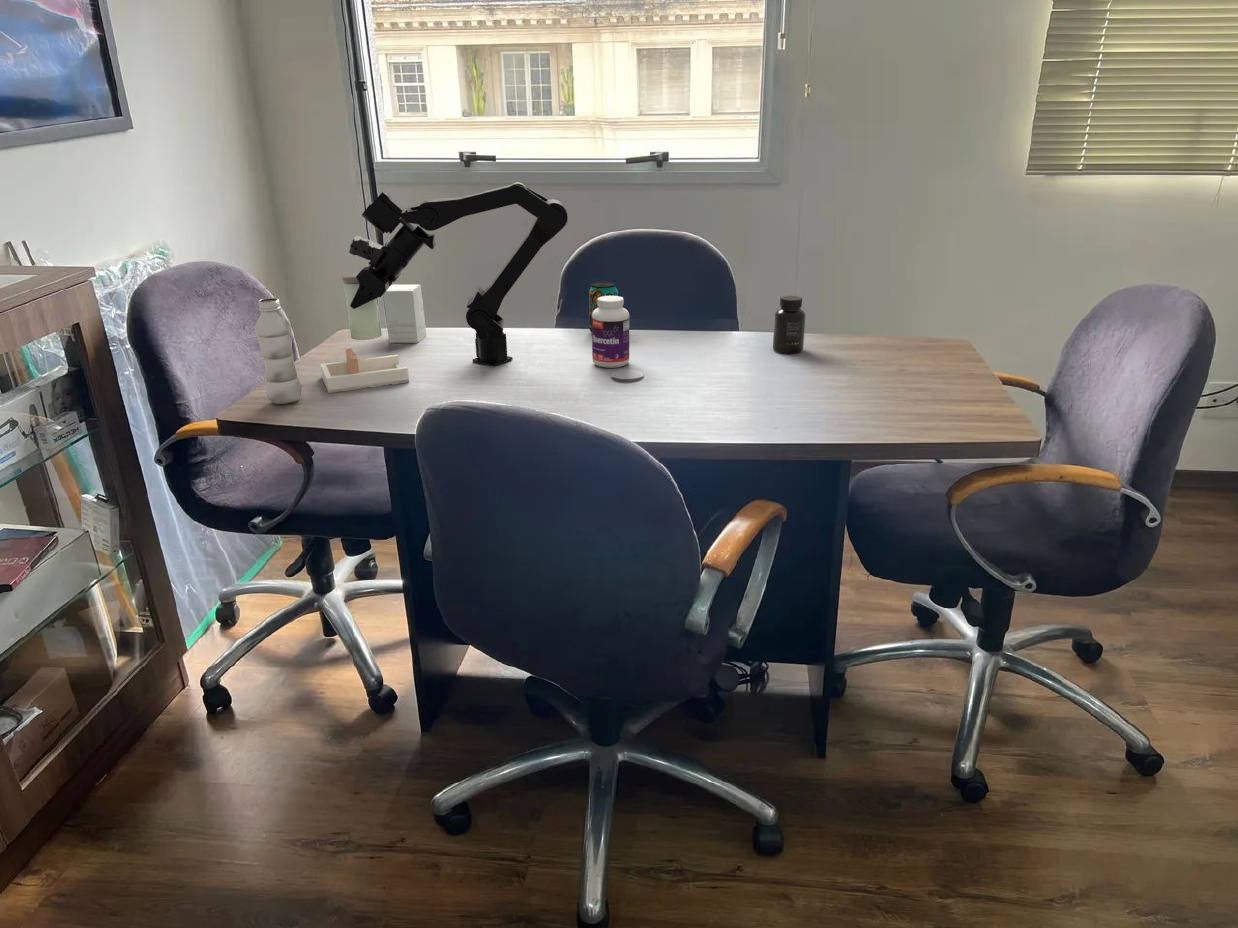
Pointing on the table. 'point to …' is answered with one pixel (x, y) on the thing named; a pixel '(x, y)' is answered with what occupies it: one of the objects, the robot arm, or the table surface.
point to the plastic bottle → (277, 353)
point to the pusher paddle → (352, 362)
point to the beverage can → (599, 295)
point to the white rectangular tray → (364, 374)
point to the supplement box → (404, 313)
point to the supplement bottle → (789, 326)
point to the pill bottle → (610, 333)
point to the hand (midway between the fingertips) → (355, 303)
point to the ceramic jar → (361, 312)
